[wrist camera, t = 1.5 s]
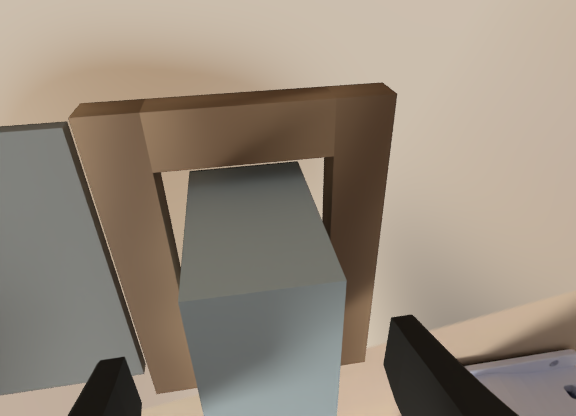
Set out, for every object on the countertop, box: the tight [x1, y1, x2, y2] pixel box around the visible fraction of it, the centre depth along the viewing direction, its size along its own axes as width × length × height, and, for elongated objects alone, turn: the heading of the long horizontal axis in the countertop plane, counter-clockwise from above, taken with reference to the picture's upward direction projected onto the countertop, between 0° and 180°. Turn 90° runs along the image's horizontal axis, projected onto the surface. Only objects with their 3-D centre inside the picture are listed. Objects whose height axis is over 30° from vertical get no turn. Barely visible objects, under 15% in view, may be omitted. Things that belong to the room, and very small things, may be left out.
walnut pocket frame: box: [69, 83, 397, 394], centre depth 15 cm, size 9×12×1 cm
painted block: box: [178, 161, 347, 416], centre depth 13 cm, size 4×7×6 cm, turn 1°
